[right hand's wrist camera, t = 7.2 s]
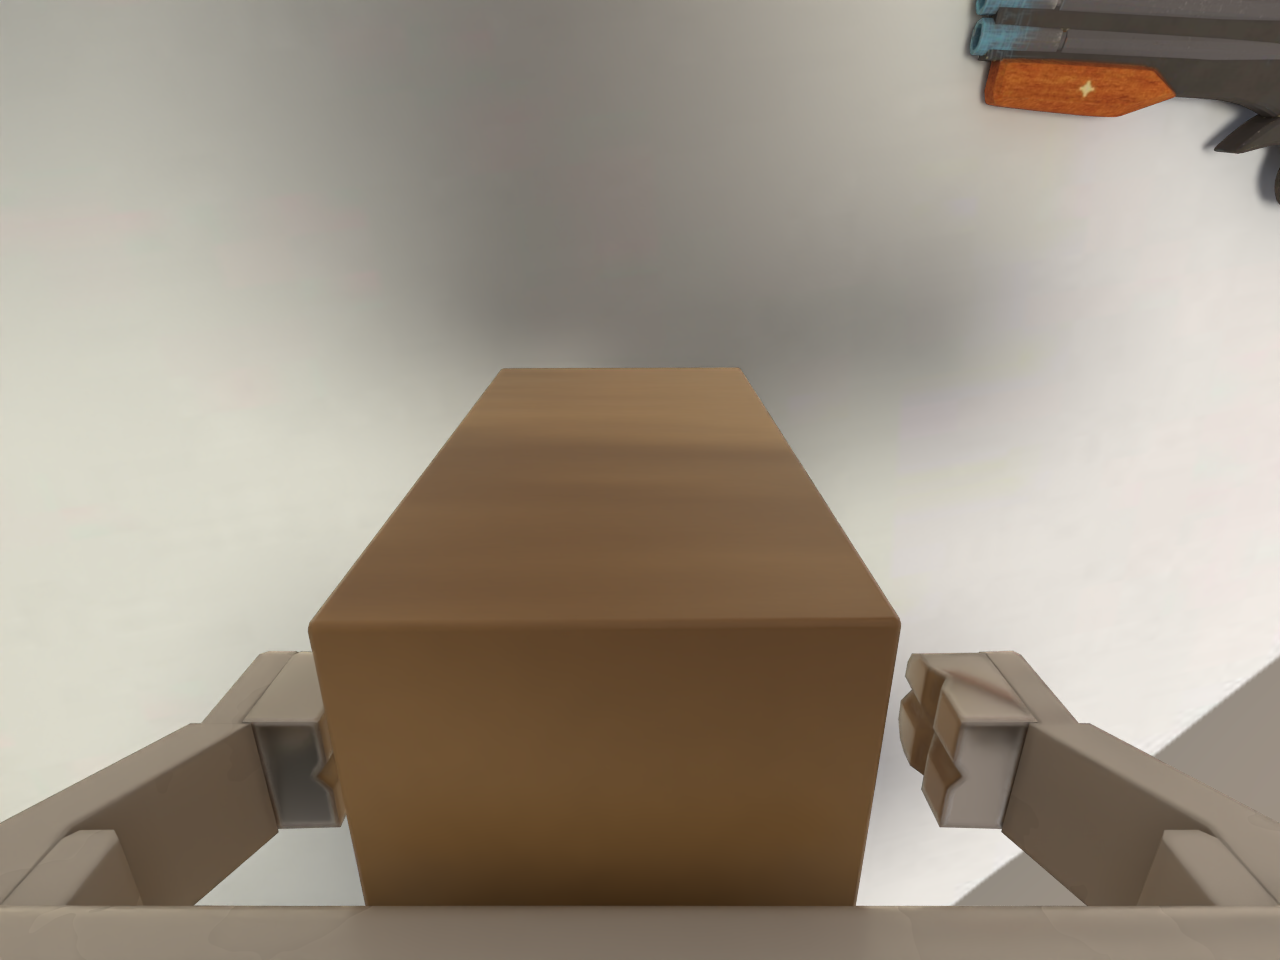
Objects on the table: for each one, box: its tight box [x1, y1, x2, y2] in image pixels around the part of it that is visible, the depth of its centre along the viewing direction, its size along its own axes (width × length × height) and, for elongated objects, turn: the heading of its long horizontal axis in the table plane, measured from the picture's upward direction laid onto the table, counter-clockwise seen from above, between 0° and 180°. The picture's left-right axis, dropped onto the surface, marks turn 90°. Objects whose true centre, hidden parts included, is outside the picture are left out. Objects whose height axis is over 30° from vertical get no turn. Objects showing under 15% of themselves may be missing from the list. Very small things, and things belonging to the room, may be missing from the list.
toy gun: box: [970, 0, 1280, 204], centre depth 21 cm, size 3×19×10 cm
